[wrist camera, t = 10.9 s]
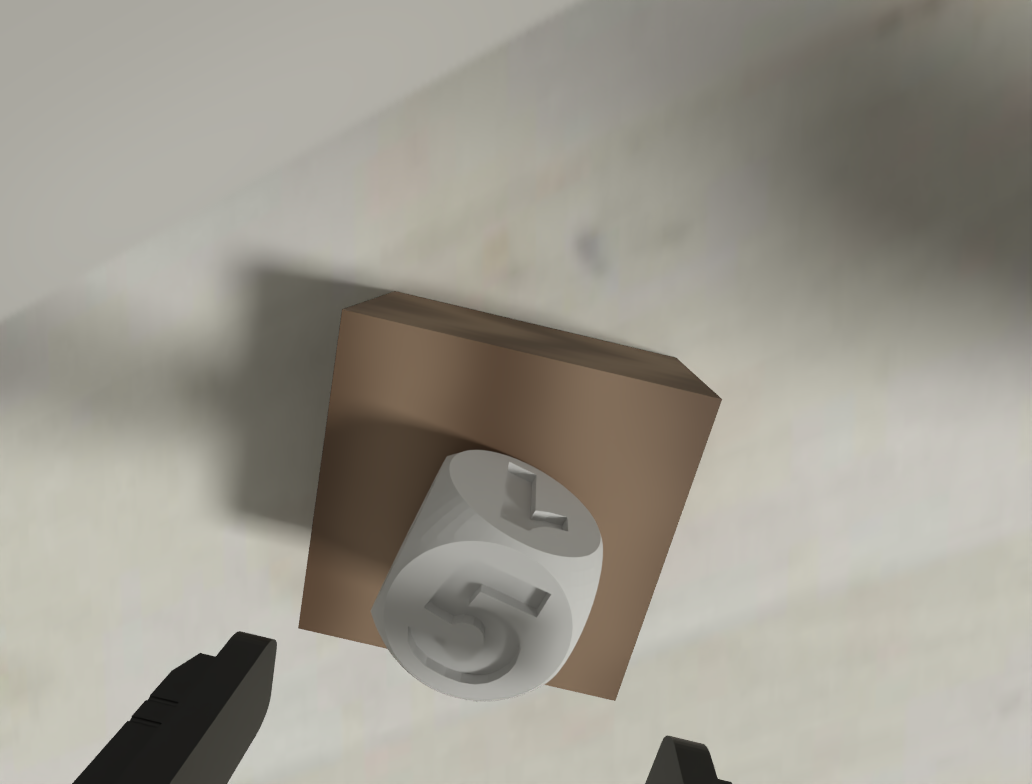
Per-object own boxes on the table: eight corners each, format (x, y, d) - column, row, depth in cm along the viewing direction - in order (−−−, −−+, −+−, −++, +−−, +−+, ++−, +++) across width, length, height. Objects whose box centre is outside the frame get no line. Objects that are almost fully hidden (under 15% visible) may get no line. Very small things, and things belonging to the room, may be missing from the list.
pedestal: (676, 358, 22) (721, 399, 17) (599, 597, 26) (615, 700, 20) (394, 291, 22) (342, 309, 17) (353, 540, 26) (298, 628, 20)
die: (596, 495, 18) (615, 590, 13) (527, 608, 19) (521, 733, 14) (459, 428, 17) (427, 501, 13) (398, 549, 19) (348, 656, 14)
